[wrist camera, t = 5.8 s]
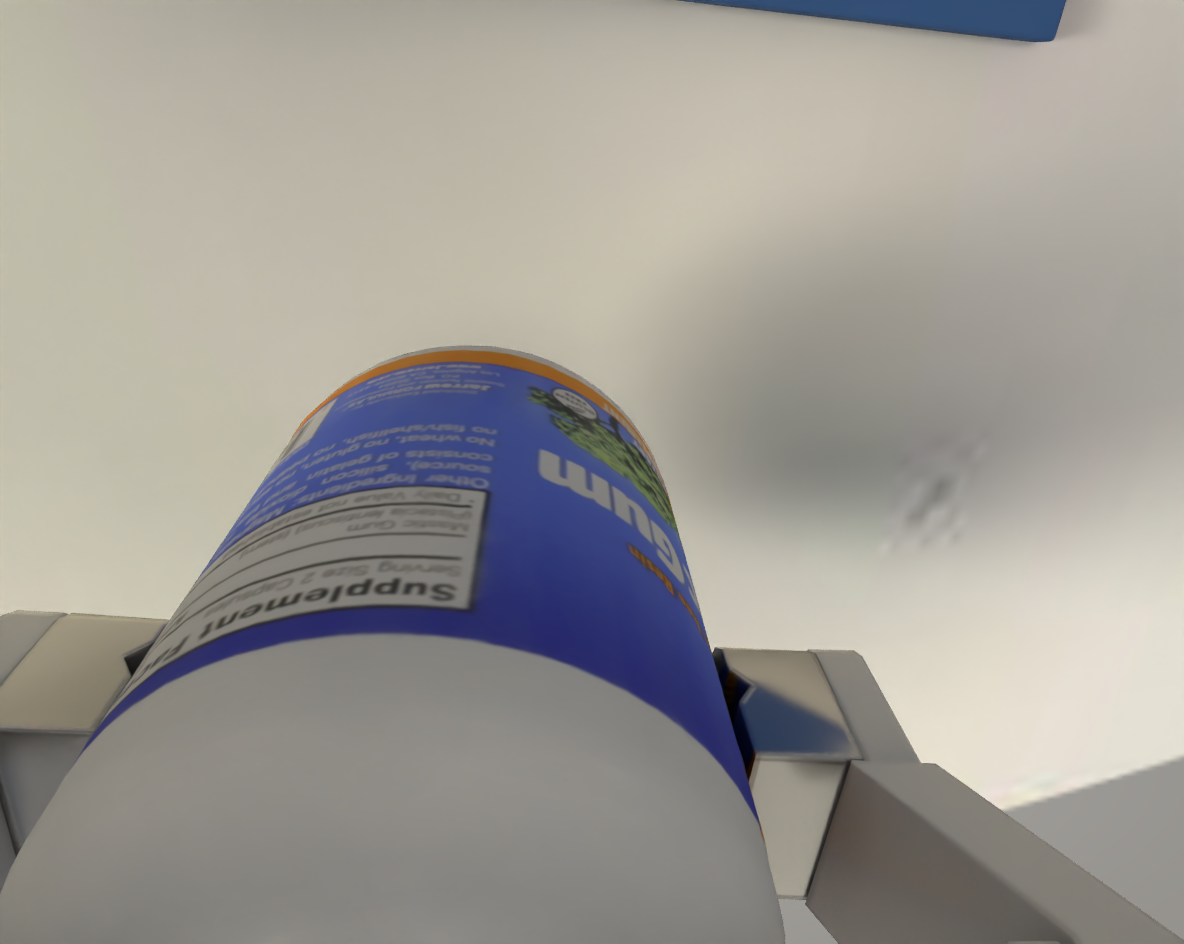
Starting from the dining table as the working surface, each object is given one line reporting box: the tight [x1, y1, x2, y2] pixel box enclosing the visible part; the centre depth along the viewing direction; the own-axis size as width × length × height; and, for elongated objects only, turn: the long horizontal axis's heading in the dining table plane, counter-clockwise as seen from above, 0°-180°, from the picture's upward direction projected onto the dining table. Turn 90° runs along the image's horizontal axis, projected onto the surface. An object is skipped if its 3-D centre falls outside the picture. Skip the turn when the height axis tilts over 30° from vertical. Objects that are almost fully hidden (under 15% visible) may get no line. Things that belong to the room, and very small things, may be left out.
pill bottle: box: [0, 346, 785, 944], centre depth 8 cm, size 5×5×10 cm
